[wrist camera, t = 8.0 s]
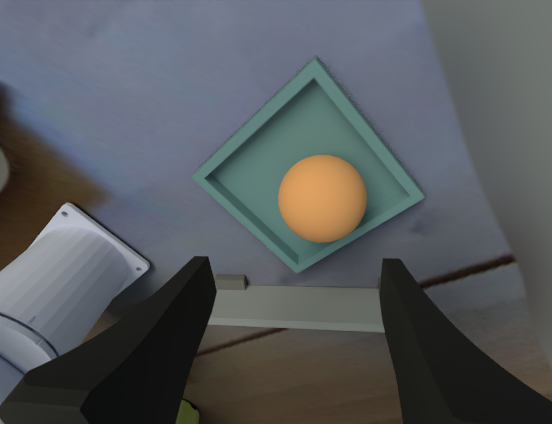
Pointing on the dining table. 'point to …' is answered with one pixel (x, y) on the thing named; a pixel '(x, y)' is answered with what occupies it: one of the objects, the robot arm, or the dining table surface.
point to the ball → (322, 198)
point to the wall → (295, 306)
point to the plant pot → (187, 414)
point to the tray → (293, 148)
